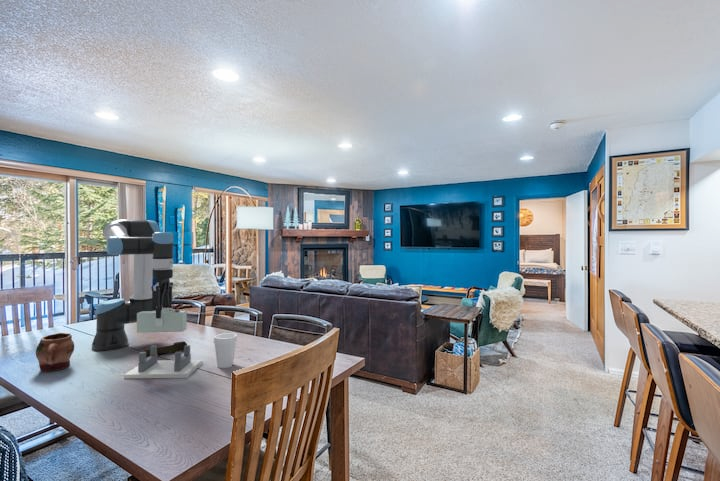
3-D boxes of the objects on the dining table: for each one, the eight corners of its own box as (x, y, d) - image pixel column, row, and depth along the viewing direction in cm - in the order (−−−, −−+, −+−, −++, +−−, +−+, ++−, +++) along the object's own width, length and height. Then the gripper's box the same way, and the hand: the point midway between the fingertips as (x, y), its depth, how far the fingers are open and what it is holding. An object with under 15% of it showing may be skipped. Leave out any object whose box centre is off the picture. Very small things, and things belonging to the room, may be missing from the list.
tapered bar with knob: (141, 330, 148) (141, 308, 148) (186, 329, 150) (186, 308, 150) (136, 332, 144) (136, 310, 144) (182, 331, 146) (182, 310, 146)
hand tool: (143, 359, 160) (143, 349, 160) (142, 356, 163) (142, 346, 163) (188, 351, 172) (188, 342, 172) (186, 349, 175) (186, 340, 175)
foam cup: (241, 363, 156) (241, 334, 156) (226, 370, 147) (227, 339, 147) (223, 360, 159) (224, 332, 159) (208, 367, 150) (209, 337, 150)
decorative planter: (72, 373, 142) (72, 339, 142) (31, 380, 135) (31, 344, 135) (75, 359, 158) (76, 328, 158) (39, 364, 151) (39, 332, 151)
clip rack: (146, 363, 154) (146, 343, 154) (202, 363, 155) (202, 343, 155) (124, 378, 138) (124, 355, 138) (186, 377, 139) (187, 355, 139)
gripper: (161, 270, 138) (161, 329, 138) (181, 267, 156) (180, 319, 156) (142, 270, 138) (141, 329, 138) (163, 267, 155) (163, 320, 155)
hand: (162, 324), depth 147 cm, fingers closed on tapered bar with knob, 4 cm apart
